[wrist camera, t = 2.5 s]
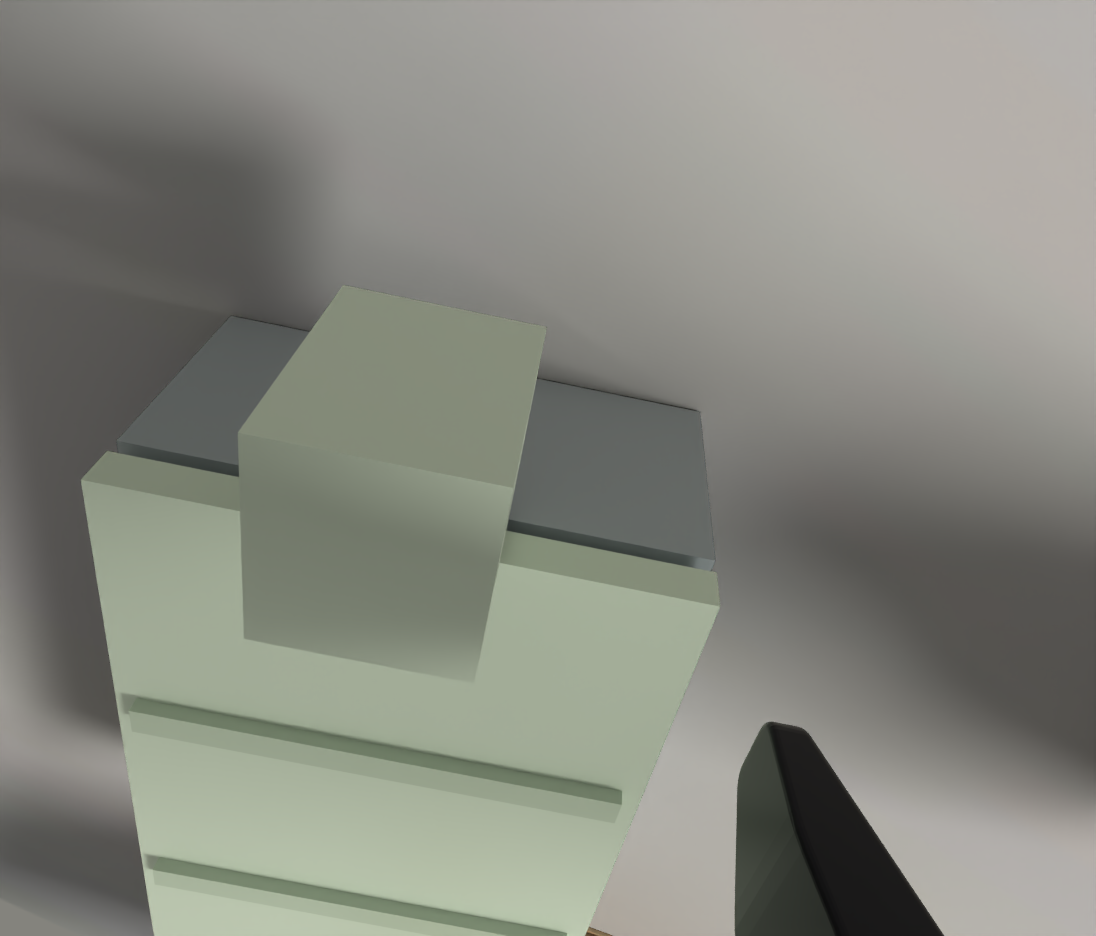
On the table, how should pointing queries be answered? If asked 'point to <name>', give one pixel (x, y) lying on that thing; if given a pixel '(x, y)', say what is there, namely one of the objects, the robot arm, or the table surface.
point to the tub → (545, 467)
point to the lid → (381, 652)
